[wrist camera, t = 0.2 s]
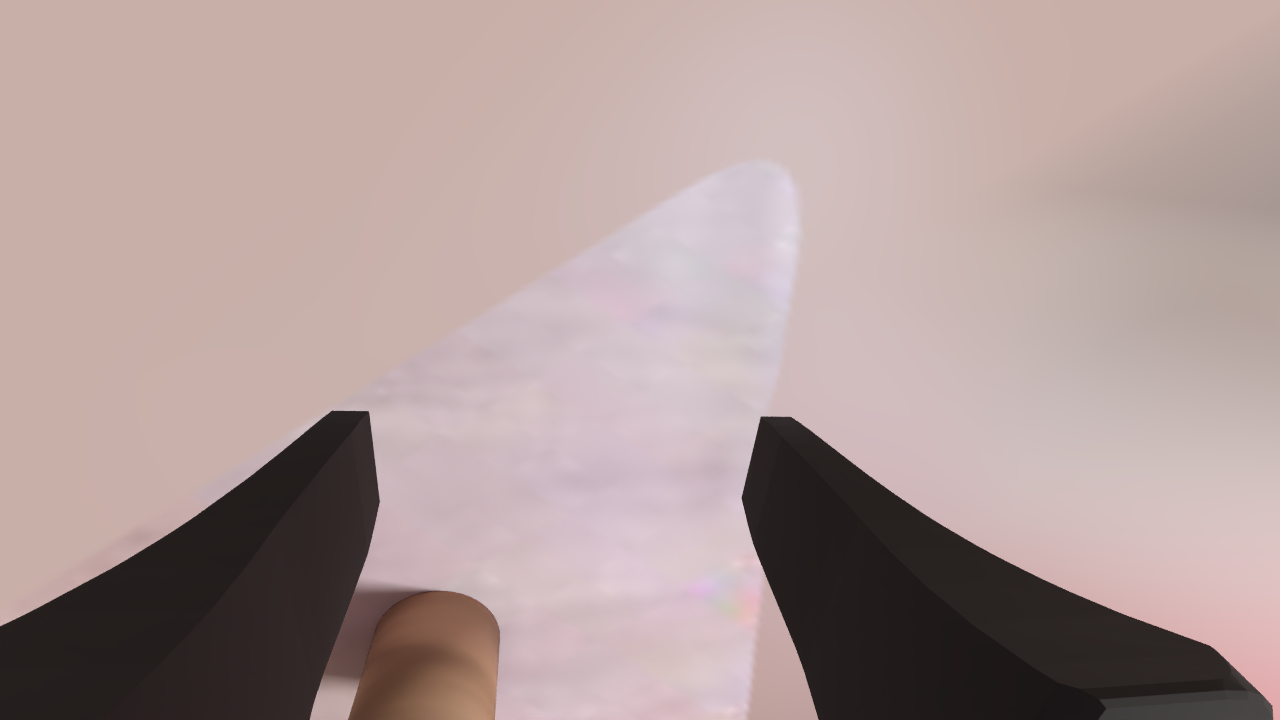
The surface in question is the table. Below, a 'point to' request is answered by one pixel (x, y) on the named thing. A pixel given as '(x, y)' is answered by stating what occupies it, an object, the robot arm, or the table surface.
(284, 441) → the table surface
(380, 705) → the walnut cylinder
